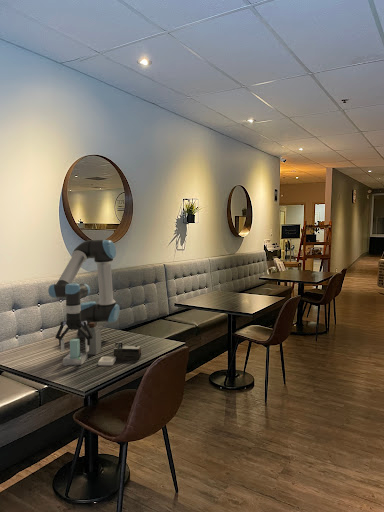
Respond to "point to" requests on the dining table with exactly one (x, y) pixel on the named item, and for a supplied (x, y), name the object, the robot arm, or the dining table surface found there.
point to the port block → (74, 360)
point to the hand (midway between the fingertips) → (75, 351)
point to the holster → (107, 361)
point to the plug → (74, 348)
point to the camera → (126, 352)
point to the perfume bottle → (94, 339)
